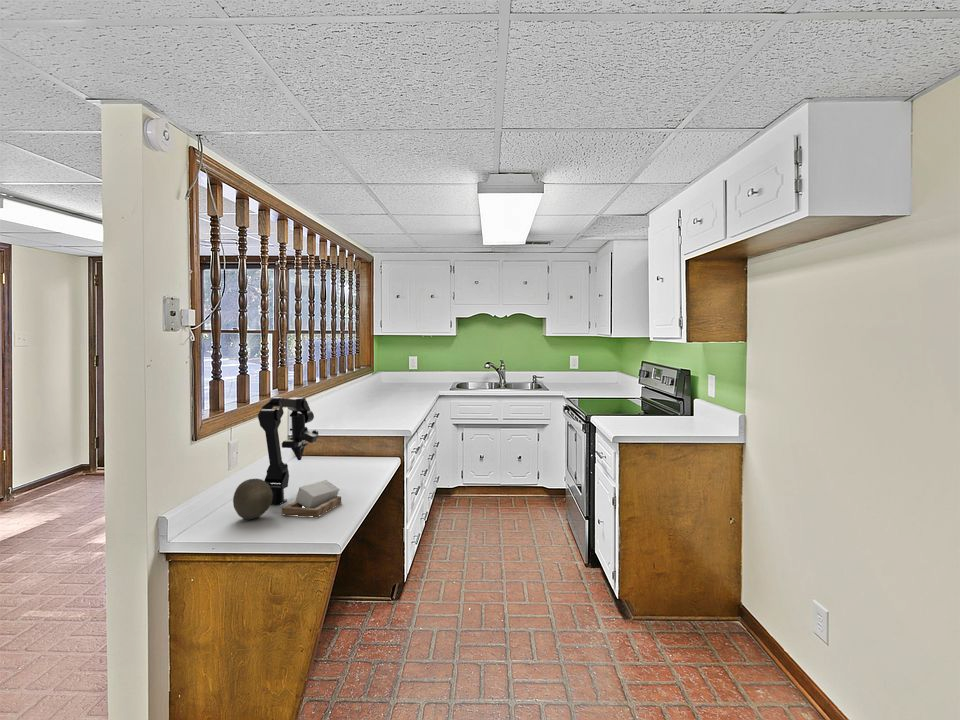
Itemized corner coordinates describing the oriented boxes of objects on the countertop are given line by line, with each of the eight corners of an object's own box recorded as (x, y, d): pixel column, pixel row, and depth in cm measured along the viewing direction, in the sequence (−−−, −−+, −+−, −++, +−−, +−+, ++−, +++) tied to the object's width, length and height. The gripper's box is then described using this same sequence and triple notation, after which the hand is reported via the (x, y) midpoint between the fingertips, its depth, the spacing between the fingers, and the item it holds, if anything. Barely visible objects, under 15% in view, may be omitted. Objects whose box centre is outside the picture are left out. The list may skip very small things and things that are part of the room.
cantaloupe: (231, 526, 224) (230, 485, 223) (235, 515, 237) (234, 476, 236) (272, 522, 227) (271, 482, 227) (274, 511, 241) (272, 473, 240)
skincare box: (322, 492, 257) (294, 500, 243) (326, 478, 256) (298, 486, 242) (336, 502, 253) (308, 511, 240) (340, 488, 252) (313, 496, 238)
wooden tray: (317, 517, 232) (316, 510, 231) (281, 515, 235) (281, 507, 235) (341, 503, 250) (341, 496, 250) (308, 501, 254) (308, 494, 254)
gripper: (303, 429, 263) (304, 465, 264) (325, 422, 281) (326, 456, 282) (280, 428, 266) (281, 464, 266) (303, 422, 284) (304, 455, 284)
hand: (299, 460), depth 275 cm, fingers closed
